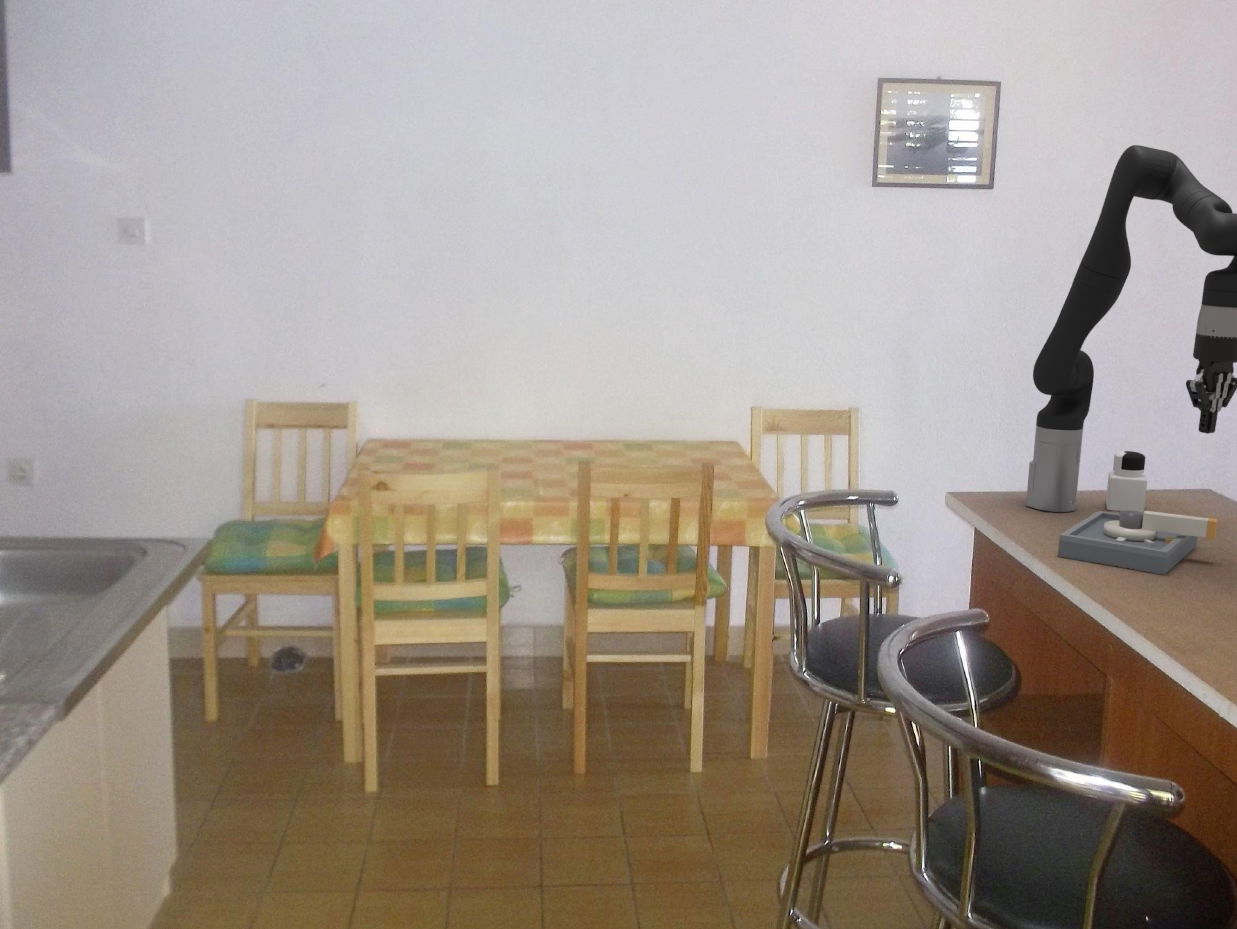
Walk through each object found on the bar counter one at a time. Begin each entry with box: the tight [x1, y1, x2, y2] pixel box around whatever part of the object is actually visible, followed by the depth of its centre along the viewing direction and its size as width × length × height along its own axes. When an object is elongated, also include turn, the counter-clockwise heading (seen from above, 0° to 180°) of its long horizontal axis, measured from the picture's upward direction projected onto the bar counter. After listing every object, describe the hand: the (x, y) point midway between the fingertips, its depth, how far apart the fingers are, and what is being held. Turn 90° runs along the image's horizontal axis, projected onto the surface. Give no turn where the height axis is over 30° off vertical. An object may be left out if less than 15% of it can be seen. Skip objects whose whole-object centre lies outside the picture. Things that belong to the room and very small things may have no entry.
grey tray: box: [1057, 510, 1198, 576], centre depth 224 cm, size 18×24×4 cm
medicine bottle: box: [1105, 450, 1148, 514], centre depth 257 cm, size 7×7×12 cm
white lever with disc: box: [1104, 510, 1218, 541], centre depth 221 cm, size 18×9×5 cm, turn 61°
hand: (1206, 432), depth 213 cm, fingers closed
